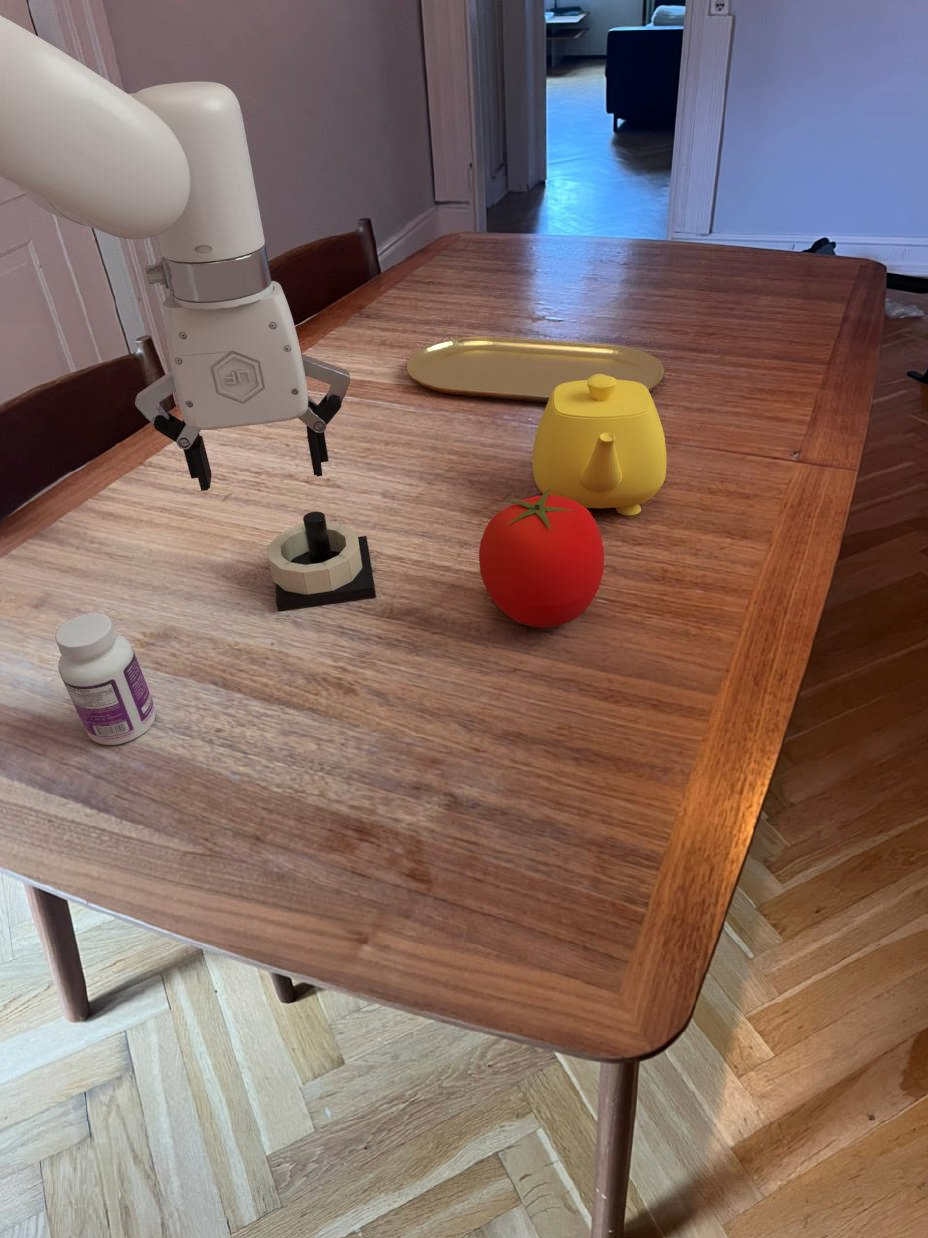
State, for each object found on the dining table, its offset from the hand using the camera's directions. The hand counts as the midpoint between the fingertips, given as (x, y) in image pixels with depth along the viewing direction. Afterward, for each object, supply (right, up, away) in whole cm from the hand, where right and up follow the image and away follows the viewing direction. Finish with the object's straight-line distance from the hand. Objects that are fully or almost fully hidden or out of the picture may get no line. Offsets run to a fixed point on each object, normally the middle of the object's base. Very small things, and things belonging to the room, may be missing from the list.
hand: (262, 476), depth 77 cm
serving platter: (+27, +20, +43) cm, 54 cm away
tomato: (+25, -12, +2) cm, 27 cm away
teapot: (+32, 0, +16) cm, 35 cm away
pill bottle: (-9, -21, -7) cm, 24 cm away
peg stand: (+4, -8, +7) cm, 12 cm away
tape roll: (+4, -8, +7) cm, 11 cm away
